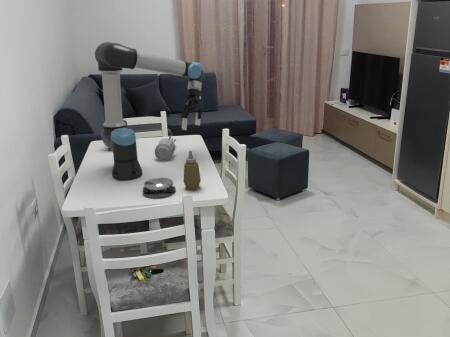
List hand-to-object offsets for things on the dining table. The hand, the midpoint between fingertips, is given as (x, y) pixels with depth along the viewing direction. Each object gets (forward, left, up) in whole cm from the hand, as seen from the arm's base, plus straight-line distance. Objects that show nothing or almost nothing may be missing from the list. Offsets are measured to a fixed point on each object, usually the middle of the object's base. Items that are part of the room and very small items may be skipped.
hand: (190, 127), depth 234 cm
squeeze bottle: (+2, -40, -19) cm, 45 cm away
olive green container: (-47, +30, -19) cm, 59 cm away
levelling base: (-13, -44, -19) cm, 50 cm away
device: (-15, +16, -19) cm, 29 cm away
